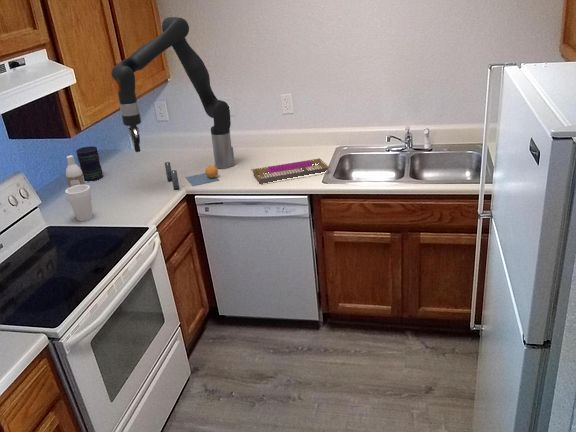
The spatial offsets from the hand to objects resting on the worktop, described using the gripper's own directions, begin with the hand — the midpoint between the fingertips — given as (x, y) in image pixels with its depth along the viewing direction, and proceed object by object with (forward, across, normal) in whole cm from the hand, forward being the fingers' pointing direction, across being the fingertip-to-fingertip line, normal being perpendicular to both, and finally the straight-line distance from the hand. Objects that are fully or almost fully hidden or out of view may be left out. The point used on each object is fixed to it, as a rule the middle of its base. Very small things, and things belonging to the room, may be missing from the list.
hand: (137, 151), depth 233 cm
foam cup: (+19, -16, +28) cm, 38 cm away
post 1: (+19, +7, -13) cm, 24 cm away
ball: (+16, -1, -32) cm, 36 cm away
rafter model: (+20, -18, -65) cm, 70 cm away
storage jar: (+19, +32, +20) cm, 42 cm away
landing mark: (+19, 0, -27) cm, 33 cm away
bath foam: (+19, +8, +28) cm, 35 cm away
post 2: (+19, -7, -13) cm, 24 cm away
